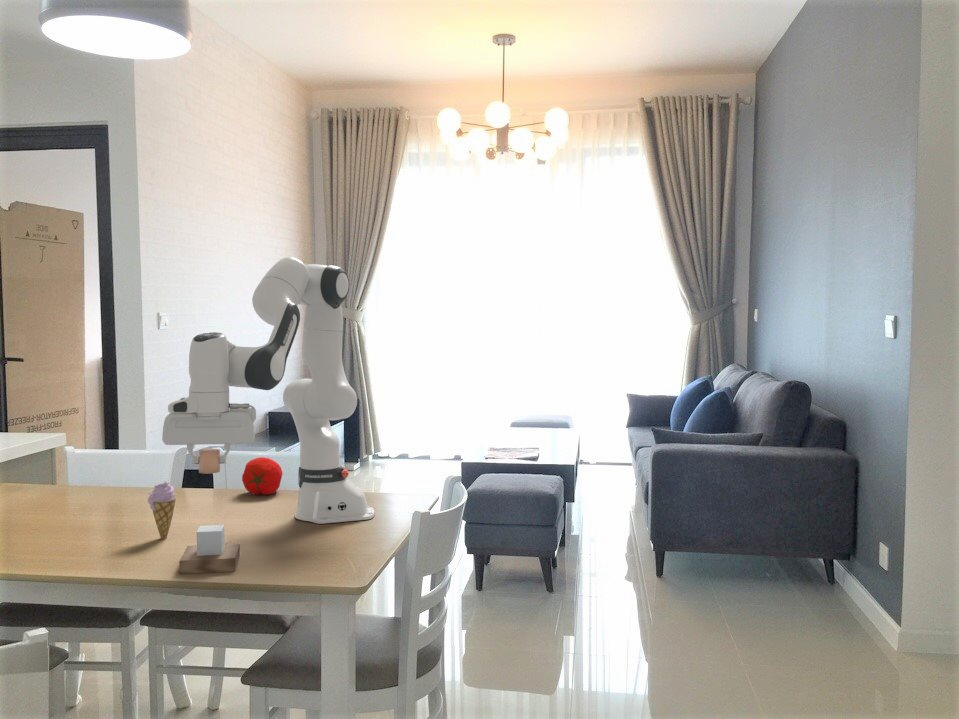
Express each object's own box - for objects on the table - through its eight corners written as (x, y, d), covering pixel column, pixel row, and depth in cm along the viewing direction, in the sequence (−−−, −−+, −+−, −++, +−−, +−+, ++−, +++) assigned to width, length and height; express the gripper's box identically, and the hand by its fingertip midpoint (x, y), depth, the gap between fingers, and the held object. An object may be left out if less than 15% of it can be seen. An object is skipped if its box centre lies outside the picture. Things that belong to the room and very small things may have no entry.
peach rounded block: (220, 469, 200) (220, 448, 200) (218, 473, 195) (218, 451, 195) (200, 470, 199) (200, 448, 199) (197, 473, 194) (197, 451, 194)
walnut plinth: (240, 555, 206) (239, 543, 206) (235, 571, 194) (235, 558, 194) (187, 558, 204) (187, 545, 203) (179, 573, 192) (179, 560, 192)
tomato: (263, 498, 280) (250, 509, 267) (241, 466, 279) (228, 475, 266) (295, 477, 279) (284, 487, 265) (273, 445, 278) (261, 453, 265)
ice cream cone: (159, 543, 216) (158, 484, 215) (143, 539, 219) (142, 481, 218) (181, 537, 222) (180, 479, 221) (165, 533, 225) (164, 477, 224)
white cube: (224, 547, 202) (224, 524, 201) (222, 554, 196) (221, 530, 196) (200, 548, 201) (199, 525, 200) (196, 555, 195) (196, 532, 195)
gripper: (256, 401, 201) (257, 460, 202) (165, 402, 198) (165, 461, 198) (255, 404, 195) (255, 465, 196) (160, 405, 191) (161, 466, 192)
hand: (209, 463), depth 197 cm, fingers closed on peach rounded block, 5 cm apart
